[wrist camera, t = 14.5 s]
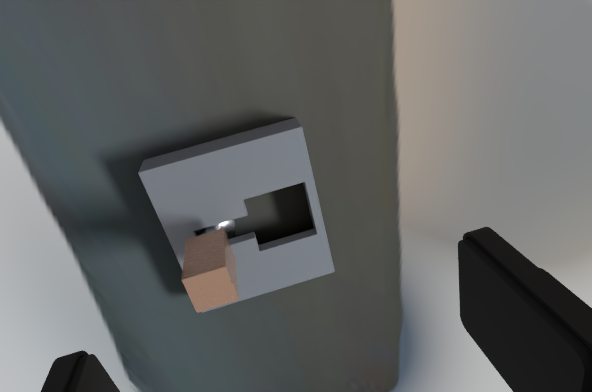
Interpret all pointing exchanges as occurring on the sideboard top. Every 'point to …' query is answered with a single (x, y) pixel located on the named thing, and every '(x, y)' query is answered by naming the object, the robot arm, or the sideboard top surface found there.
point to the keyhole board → (241, 202)
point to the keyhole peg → (211, 267)
